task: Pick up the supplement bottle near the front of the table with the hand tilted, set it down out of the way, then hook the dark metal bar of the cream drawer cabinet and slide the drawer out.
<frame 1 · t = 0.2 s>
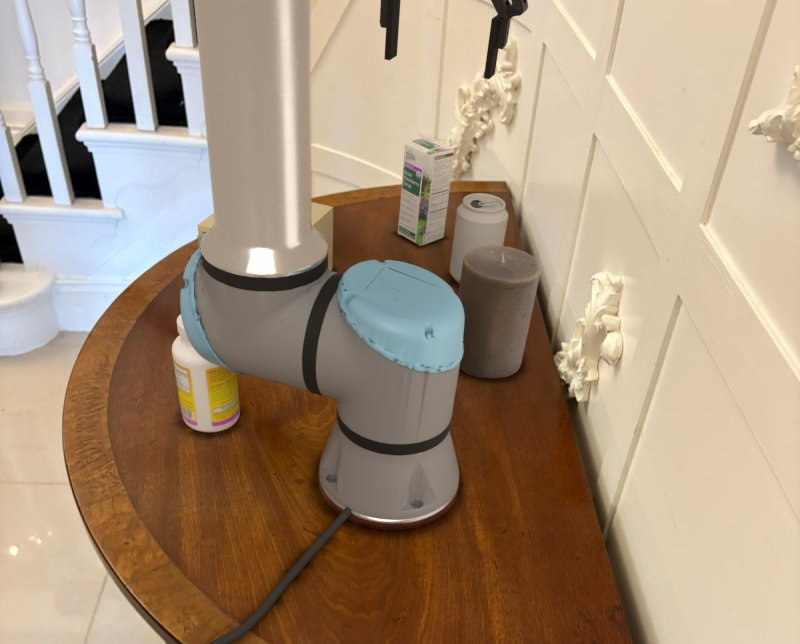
hand: (439, 67, 102), 28 cm above the table, tool pointing down, fingers open, 13 cm apart
can: (472, 279, 121), on the table
supplement bottle: (211, 418, 92), on the table
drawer: (255, 260, 110), point 5 cm above the table, slide at 0.0 cm
pillar candle: (485, 360, 106), on the table
syrup box: (420, 237, 131), on the table
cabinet: (270, 279, 116), on the table
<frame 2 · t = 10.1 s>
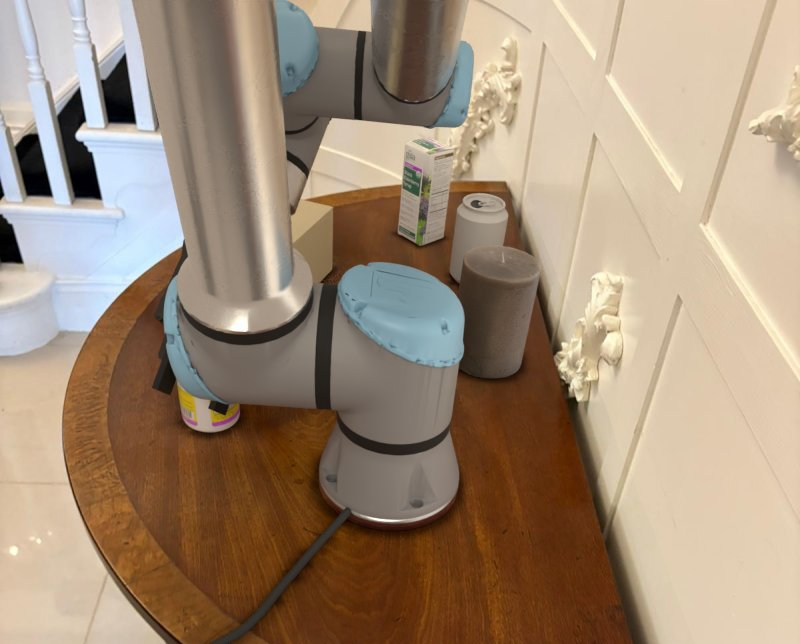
hand: (188, 401, 87), 4 cm above the table, tool tilted 45°, fingers closed on supplement bottle, 7 cm apart
supplement bottle: (211, 418, 92), on the table, touching gripper
everything else where it was.
when the fingers open (4 cm above the table, at t = 18.7 s): supplement bottle stays where it is, on the table.
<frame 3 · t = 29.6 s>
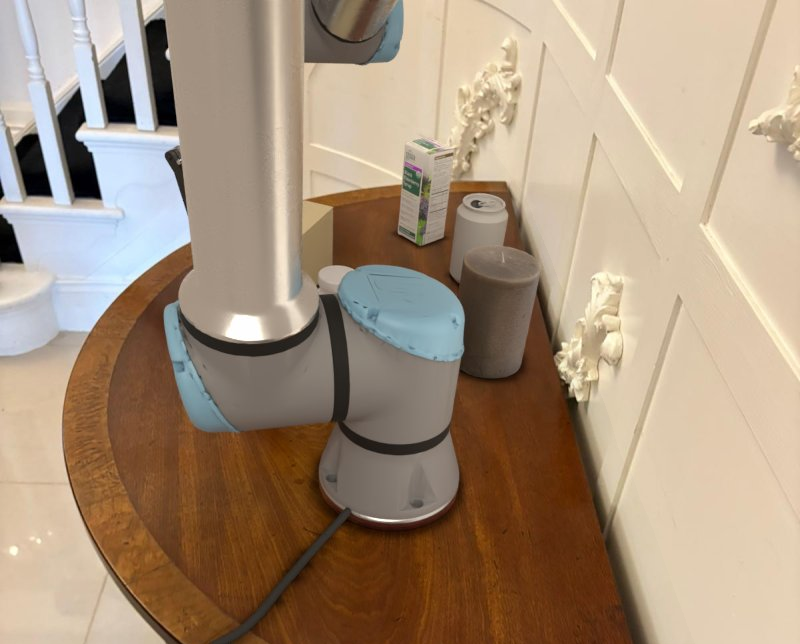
hand: (227, 287, 105), 4 cm above the table, tool pointing down, fingers closed
supplement bottle: (337, 368, 101), on the table
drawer: (249, 265, 109), point 5 cm above the table, slide at 1.8 cm, touching gripper
everything else where it was.
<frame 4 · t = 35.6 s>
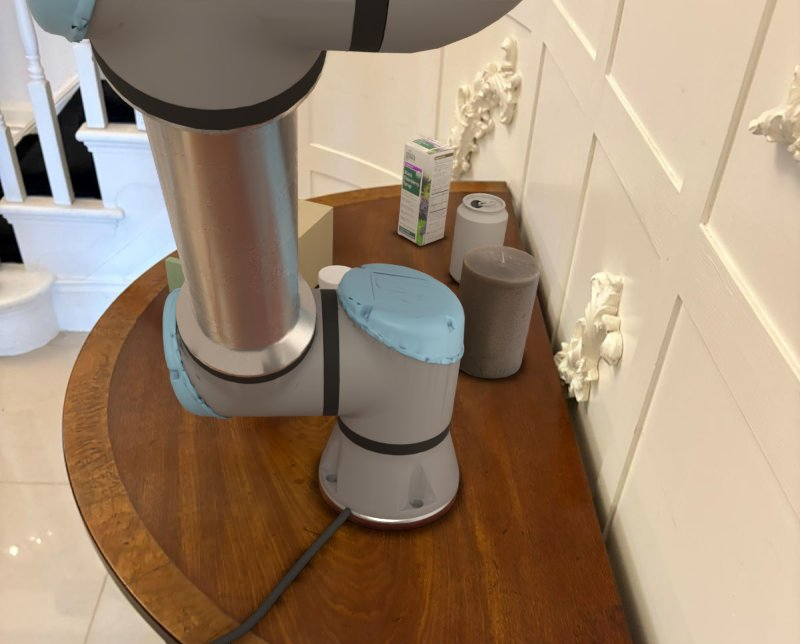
hand: (256, 154, 86), 24 cm above the table, tool pointing down, fingers closed
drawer: (226, 285, 105), point 5 cm above the table, slide at 8.0 cm
everything else where it was.
at the end: supplement bottle inside the target area (0.2 cm from its centre), on the table; supplement bottle tilted 0°; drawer slide at 8.0 cm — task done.
